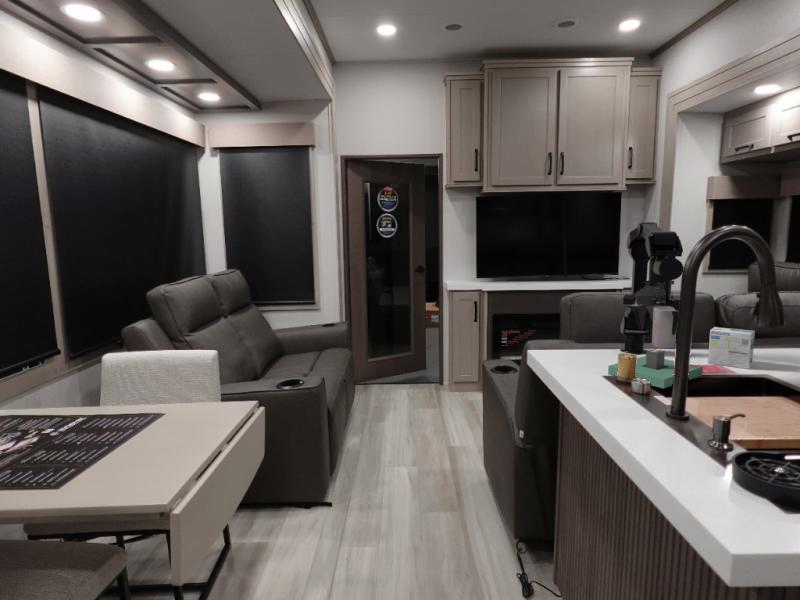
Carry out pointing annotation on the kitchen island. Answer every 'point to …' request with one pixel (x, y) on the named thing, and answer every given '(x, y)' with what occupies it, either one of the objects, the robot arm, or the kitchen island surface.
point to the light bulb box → (731, 347)
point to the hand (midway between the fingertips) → (657, 332)
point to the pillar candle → (663, 327)
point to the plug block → (655, 359)
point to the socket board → (657, 372)
